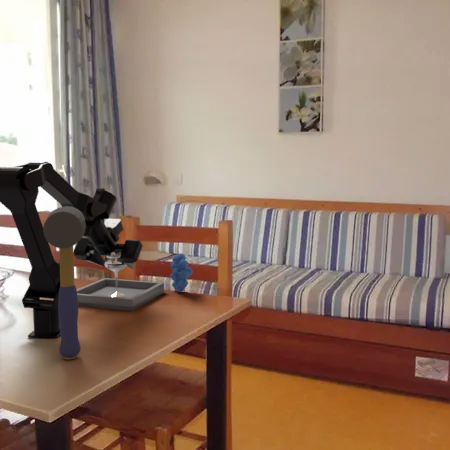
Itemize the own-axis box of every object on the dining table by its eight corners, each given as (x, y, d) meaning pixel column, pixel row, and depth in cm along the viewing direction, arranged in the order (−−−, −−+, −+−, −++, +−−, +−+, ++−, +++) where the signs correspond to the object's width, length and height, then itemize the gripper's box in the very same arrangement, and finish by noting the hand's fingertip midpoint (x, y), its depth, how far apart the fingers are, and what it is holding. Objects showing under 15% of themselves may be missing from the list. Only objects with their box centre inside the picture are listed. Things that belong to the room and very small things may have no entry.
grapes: (200, 295, 149) (200, 254, 147) (178, 297, 146) (177, 256, 145) (186, 286, 159) (186, 248, 158) (166, 288, 157) (165, 250, 155)
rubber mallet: (53, 348, 106) (48, 204, 102) (90, 345, 107) (86, 204, 104) (46, 372, 94) (39, 210, 90) (88, 368, 95) (83, 209, 92)
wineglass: (109, 291, 149) (108, 250, 147) (132, 292, 148) (131, 251, 146) (101, 297, 142) (99, 255, 141) (124, 298, 141) (123, 255, 140)
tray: (132, 310, 133) (132, 299, 132) (66, 304, 139) (66, 293, 138) (164, 292, 152) (164, 282, 151) (104, 287, 158) (104, 278, 157)
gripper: (138, 210, 135) (156, 245, 147) (77, 208, 141) (99, 242, 153) (125, 244, 129) (145, 277, 141) (61, 240, 134) (86, 273, 146)
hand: (118, 266), depth 145 cm, fingers open, 9 cm apart
